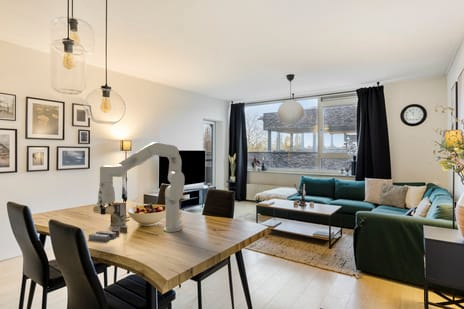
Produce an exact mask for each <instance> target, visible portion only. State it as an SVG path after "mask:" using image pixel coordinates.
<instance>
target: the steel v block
mask: <svg viewBox="0 0 464 309" xmlns="http://www.w3.org/2000/svg"><path fill="white" fill-rule="evenodd" d="M114 238H117V236H116V232H112V231H108V230H107V231H105V230H98V231H96V232H95V233H90V234H88V240H89V241H97V242H98V241H99V242H108V241H111V240H112V239H114Z"/></svg>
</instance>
